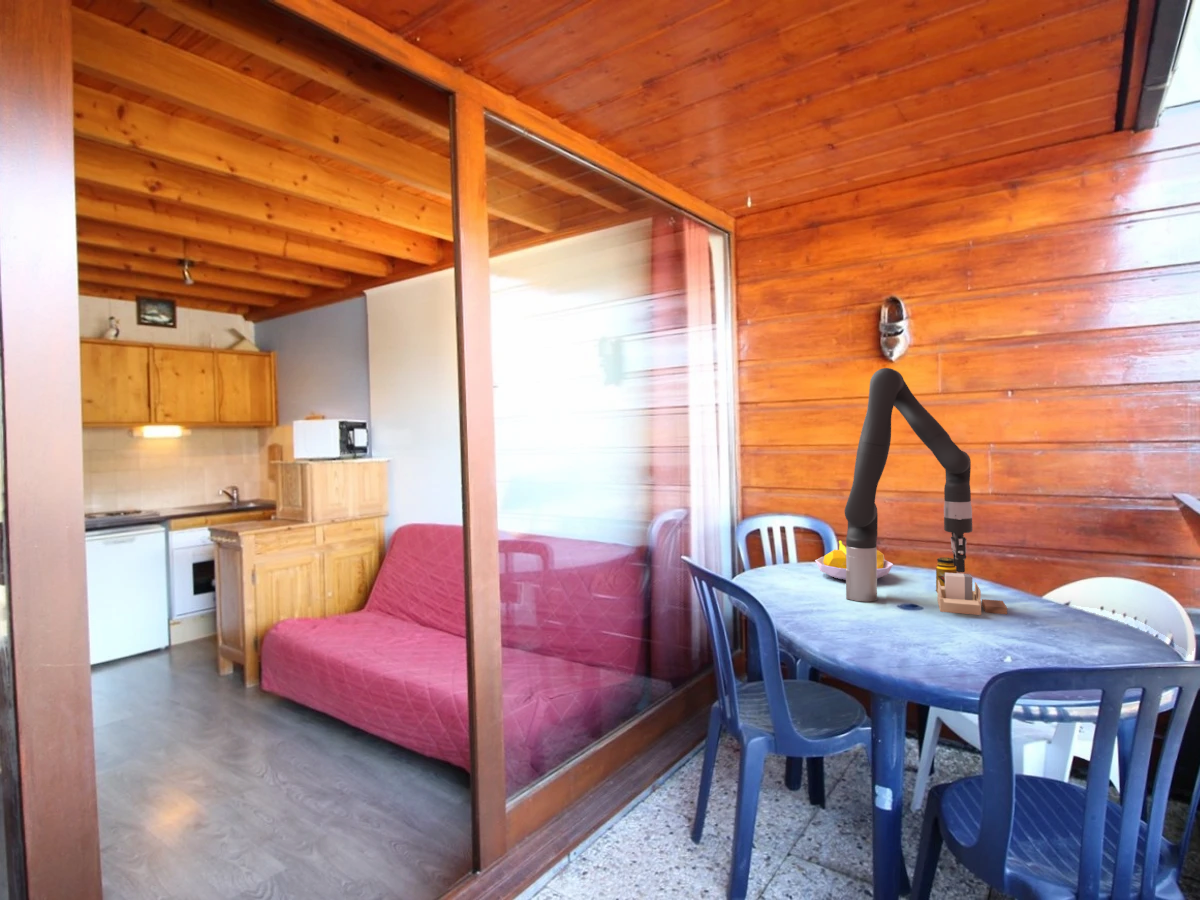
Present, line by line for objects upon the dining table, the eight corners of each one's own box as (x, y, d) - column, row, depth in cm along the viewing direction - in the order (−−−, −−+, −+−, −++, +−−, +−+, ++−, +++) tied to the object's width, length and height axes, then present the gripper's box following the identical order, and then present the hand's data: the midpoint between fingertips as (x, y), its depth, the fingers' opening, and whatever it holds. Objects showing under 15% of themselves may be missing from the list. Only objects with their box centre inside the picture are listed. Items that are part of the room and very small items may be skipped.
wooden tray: (941, 617, 190) (941, 591, 189) (936, 599, 208) (936, 576, 208) (982, 620, 185) (982, 594, 185) (974, 602, 204) (974, 578, 204)
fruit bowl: (895, 588, 224) (895, 555, 223) (813, 583, 233) (813, 552, 233) (890, 571, 250) (890, 541, 249) (816, 567, 260) (816, 539, 259)
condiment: (947, 598, 210) (947, 561, 209) (925, 592, 218) (925, 557, 217) (963, 595, 213) (963, 559, 212) (941, 589, 220) (940, 554, 220)
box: (946, 608, 196) (945, 575, 196) (944, 604, 200) (944, 572, 200) (972, 610, 193) (972, 577, 193) (970, 606, 197) (970, 574, 197)
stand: (985, 614, 191) (985, 605, 191) (981, 607, 199) (981, 599, 198) (1007, 616, 189) (1007, 607, 189) (1002, 608, 196) (1002, 600, 196)
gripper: (942, 512, 204) (943, 563, 204) (945, 518, 191) (947, 573, 191) (969, 513, 201) (970, 565, 201) (974, 519, 188) (976, 574, 188)
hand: (959, 569), depth 196 cm, fingers open, 8 cm apart
